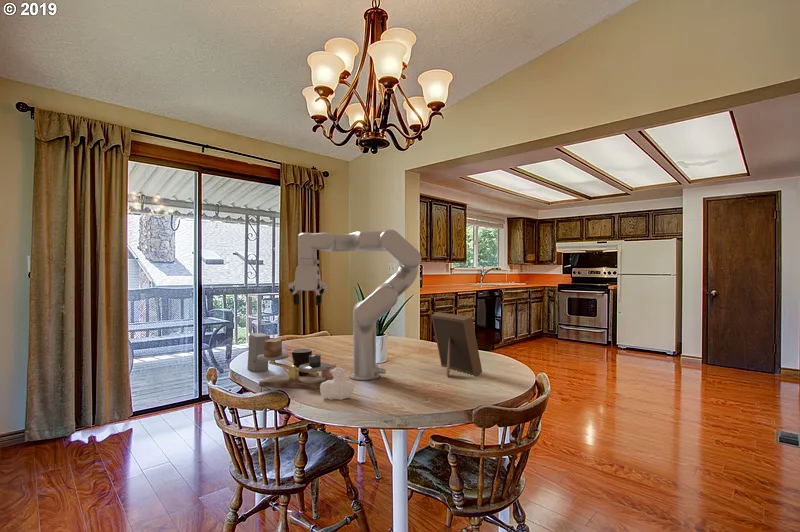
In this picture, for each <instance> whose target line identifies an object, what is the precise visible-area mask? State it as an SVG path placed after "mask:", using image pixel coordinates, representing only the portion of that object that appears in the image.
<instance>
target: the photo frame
mask: <svg viewBox="0 0 800 532" xmlns="http://www.w3.org/2000/svg"><path fill="white" fill-rule="evenodd" d="M430 316H431V320H432V325H433V330H434V336H435V341H436V345H437V350H438V355H439V360H440V361H439V362H440V365H441V367H443V368H446V367H447V368H446V377H447V378H449V377H450V370H453V371H456V370H457V372H459V371H460V373H462V372H463V374H466V373H467V374H466V375H469V374H470V375H469V376H472V375H473V377H477V376H479V375H481V374H482V373H483V369H482V363H481V357H480V353H479V347H478V341H477V336H476V331H475V325H474V321H473V316H470V315H469V316H467V315H460V314H455V313H454V314H453V313H446V312H440V311H437V312H435V313H432V314H431V315H430Z"/></svg>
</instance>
